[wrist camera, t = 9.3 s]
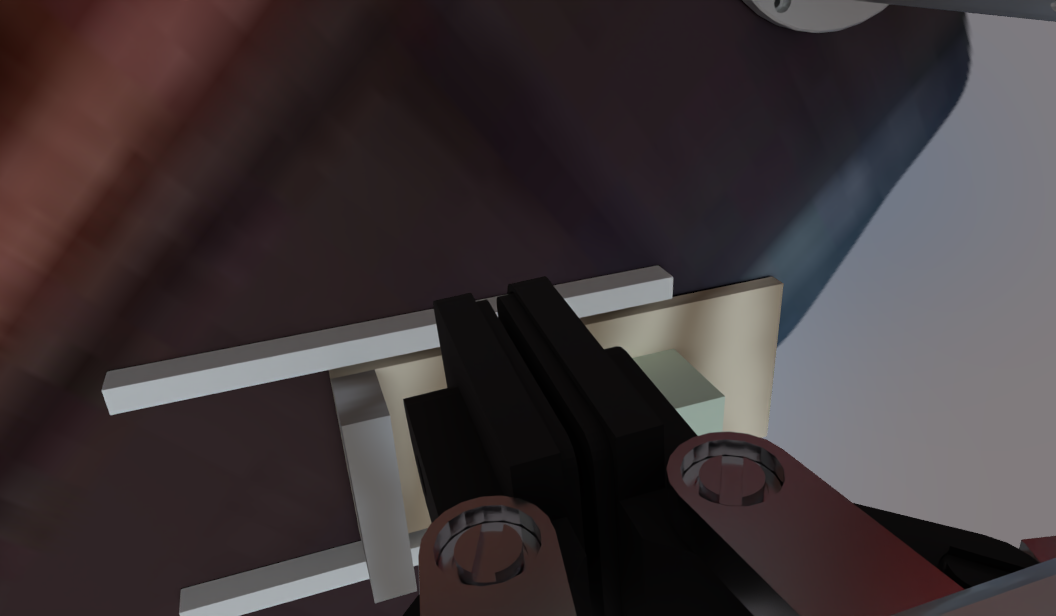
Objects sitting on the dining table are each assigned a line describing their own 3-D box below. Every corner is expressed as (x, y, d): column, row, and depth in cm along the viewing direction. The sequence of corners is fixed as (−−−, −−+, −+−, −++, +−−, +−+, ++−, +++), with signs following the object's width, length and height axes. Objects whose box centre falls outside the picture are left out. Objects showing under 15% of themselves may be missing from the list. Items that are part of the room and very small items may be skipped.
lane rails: (658, 265, 40) (673, 277, 39) (652, 478, 46) (664, 494, 45) (107, 371, 33) (101, 390, 32) (186, 606, 39) (185, 630, 38)
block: (673, 348, 41) (725, 396, 37) (670, 426, 43) (718, 480, 39) (586, 368, 40) (629, 420, 35) (587, 447, 42) (628, 505, 38)
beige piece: (772, 276, 43) (832, 314, 38) (757, 426, 47) (809, 476, 43) (328, 368, 36) (341, 426, 32) (359, 533, 40) (375, 603, 36)
